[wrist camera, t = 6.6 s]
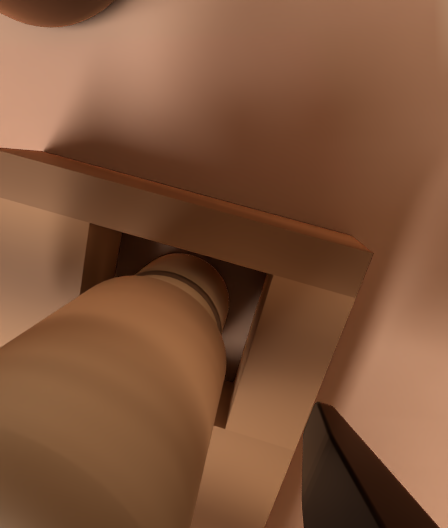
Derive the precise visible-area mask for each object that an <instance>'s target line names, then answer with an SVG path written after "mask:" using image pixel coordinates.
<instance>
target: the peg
mask: <svg viewBox="0 0 448 528" xmlns="http://www.w3.org/2000/svg"><path fill="white" fill-rule="evenodd" d="M228 311H229V294H228V290H227V287H226V284H225V282H224V280H223V278H222V277H221V276H220V274H219V273H218V272H217V271H216V269H215V268H214V267H212V266H211V265H210V264H209V263H207V262H206V261H204V260H202V259H200V258H198V257H196V256H193V255H189V254H182V253H173V254H167V255H164V256H161V257H159V258H157V259H155V260H153V261H152V262H150V263H149V264H148V265H147V266H145V267H144V268H143V269H141V270H140V271H139V272H137V273H136V274H135V275H133V276H122V277H116V278H112V279H109V280H106V281H103V282H101V283H99V284H97V285H95V286H93V287H92V288H90V289H89V290H87V291H86V292H84V293H83V294H81V295H80V296H78V297H77V298H75V299H74V300H72V301H71V302H69V303H67V304H66V305H64V306H63V307H61V308H60V309H58V310H57V311H55V312H54V313H52V314H51V315H49V316H48V317H46V318H45V319H43V320H42V321H40V322H38V323H37V324H35V325H34V326H32V327H31V328H29V329H28V330H26V331H25V332H23V333H22V334H20V335H19V336H17V337H16V338H14V339H13V340H11V341H9V342H8V343H6V344H5V345H3V346H2V347H0V528H191V523H192V519H193V514H194V510H195V506H196V501H197V497H198V492H199V488H200V484H201V479H202V475H203V470H204V466H205V461H206V457H207V453H208V448H209V444H210V439H211V435H212V431H213V426H214V422H215V417H216V413H217V408H218V404H219V400H220V395H221V391H222V386H223V382H224V377H225V373H226V351H225V346H224V342H223V339H222V331H223V328H224V325H225V321H226V318H227V315H228Z"/></svg>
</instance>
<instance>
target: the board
mask: <svg viewBox="0 0 448 528" xmlns="http://www.w3.org/2000/svg"><path fill="white" fill-rule="evenodd" d="M122 232H124V233H127V234H131V235H134V236H138V237H141V238H145V239H148V240H152V241H155V242H159V243H162V244H166V245H169V246H173V247H177V248H180V249H184V250H187V251H191V252H194V253H198V254H201V255H205V256H208V257H212V258H215V259H219V260H222V261H226V262H230V263H233V264H237V265H240V266H244V267H247V268H251V269H254V270H258V271H261V272H265V273H267V275H266V278H265V282H264V285H263V288H262V291H261V295H260V298H259V301H258V304H257V308H256V311H255V314H254V317H253V321H252V324H251V327H250V330H249V334H248V337H247V340H246V343H245V347H244V350H243V353H242V357H241V360H240V363H239V366H238V370H237V373H236V376H235V379H234V383H233V382H229V381H226V380H224V382H223V386H222V391H221V395H220V400H219V404H218V408H217V413H216V417H215V422H214V426H213V431H212V435H211V439H210V444H209V448H208V453H207V457H206V461H205V466H204V470H203V475H202V479H201V484H200V488H199V492H198V497H197V501H196V506H195V510H194V514H193V519H192V523H191V528H264V527H265V525H266V522H267V520H268V517H269V515H270V512H271V510H272V507H273V505H274V502H275V500H276V497H277V495H278V492H279V490H280V487H281V485H282V482H283V480H284V477H285V475H286V472H287V470H288V467H289V465H290V462H291V460H292V457H293V455H294V452H295V450H296V447H297V445H298V442H299V440H300V437H301V435H302V432H303V430H304V427H305V425H306V422H307V420H308V417H309V414H310V412H311V409H312V407H313V404H314V402H315V399H316V397H317V394H318V392H319V389H320V387H321V384H322V382H323V379H324V377H325V374H326V372H327V369H328V367H329V364H330V362H331V359H332V357H333V354H334V352H335V349H336V347H337V344H338V342H339V339H340V337H341V334H342V332H343V329H344V327H345V324H346V322H347V319H348V317H349V314H350V312H351V309H352V307H353V304H354V301H355V299H356V296H357V294H358V291H359V289H360V286H361V284H362V281H363V279H364V276H365V274H366V271H367V269H368V266H369V264H370V261H371V259H372V256H373V254H374V253H372V252H371V251H370V250H369V249H368V248H366V247H365V246H364V245H363V244H361V243H360V242H359V241H358V240H357V239H355V238H354V237H353V236H351V235H347V234H344V233H340V232H336V231H333V230H329V229H325V228H322V227H318V226H314V225H311V224H307V223H303V222H300V221H296V220H292V219H289V218H285V217H281V216H278V215H274V214H270V213H267V212H263V211H259V210H256V209H252V208H248V207H245V206H241V205H237V204H234V203H230V202H226V201H223V200H219V199H215V198H212V197H208V196H204V195H201V194H197V193H193V192H190V191H186V190H182V189H179V188H175V187H171V186H168V185H164V184H160V183H157V182H153V181H149V180H146V179H142V178H138V177H135V176H131V175H127V174H124V173H120V172H116V171H113V170H109V169H105V168H102V167H98V166H94V165H91V164H87V163H83V162H80V161H76V160H72V159H69V158H65V157H61V156H58V155H54V154H50V153H47V152H43V151H33V150H21V149H9V148H0V347H2V346H3V345H5V344H6V343H8V342H9V341H11V340H13V339H14V338H16V337H17V336H19V335H20V334H22V333H23V332H25V331H26V330H28V329H29V328H31V327H32V326H34V325H35V324H37V323H38V322H40V321H42V320H43V319H45V318H46V317H48V316H49V315H51V314H52V313H54V312H55V311H57V310H58V309H60V308H61V307H63V306H64V305H66V304H67V303H69V302H71V301H72V300H74V299H75V298H77V297H78V296H80V295H81V294H83V293H84V292H86V291H87V290H89V289H90V288H92V287H93V286H95V285H97V284H99V283H101V282H103V281H106V280H109V279H112V278H114V277H115V271H116V265H117V259H118V253H119V247H120V241H121V235H122Z"/></svg>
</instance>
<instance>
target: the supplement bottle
mask: <svg viewBox="0 0 448 528" xmlns="http://www.w3.org/2000/svg"><path fill="white" fill-rule="evenodd" d="M113 1H114V0H0V13H1V14H3V15H5V16H8V17H10V18H12V19H14V20H16V21H19V22H22V23H25V24H29V25H34V26H39V27H63V26H70V25H73V24H77V23H80V22H82V21H84V20H87V19H89V18H91V17H93V16H95V15H96V14H98V13H100V12H101V11H102V10H104V9H105V8H106V7H108V6H109V5H110V4H111V3H112V2H113Z"/></svg>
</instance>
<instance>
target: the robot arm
mask: <svg viewBox="0 0 448 528" xmlns="http://www.w3.org/2000/svg"><path fill="white" fill-rule="evenodd" d="M302 511H303V523H304V528H439V526H438V525H437V524H436V523H435V522H434V521H433V520H432V518H431V517H430V516H429V515H428V514H427V513H426V512H425V511H424V509H423V508H422V507H421V506H420V505H419V504H418V503H417V501H416V500H415V499H414V498H413V497H412V496H411V495H410V493H409V492H408V491H407V490H406V489H405V488H404V487H403V485H402V484H401V483H400V482H399V481H398V480H397V479H396V478H395V476H394V475H393V474H392V473H391V472H390V471H389V470H388V468H387V467H386V466H385V465H384V464H383V463H382V462H381V460H380V459H379V458H378V457H377V456H376V455H375V454H374V452H373V451H372V450H371V449H370V448H369V447H368V446H367V444H366V443H365V442H364V441H363V440H362V439H361V438H360V437H359V435H358V434H357V433H356V432H355V431H354V430H353V429H352V427H351V426H350V425H349V424H348V423H347V422H346V421H345V419H344V418H343V417H342V416H341V415H340V414H339V413H338V411H337V410H336V409H335V408H334V407H333V406H331V405H327V404H324V403H321V402H317V403H315V404H314V406H313V408H312V411H311V413H310V416H309V418H308V421H307V423H306V426H305V429H304V433H303V459H302Z"/></svg>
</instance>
